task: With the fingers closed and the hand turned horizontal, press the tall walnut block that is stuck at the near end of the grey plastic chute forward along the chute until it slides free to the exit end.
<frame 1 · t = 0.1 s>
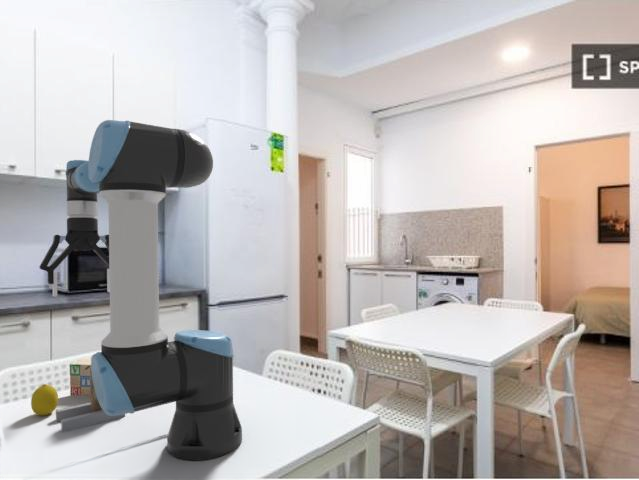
hand: (83, 294, 121), 28 cm above the table, tool pointing down, fingers open, 13 cm apart
chute: (90, 421, 103), on the table
lemon: (45, 417, 106), on the table
block: (106, 391, 105), point 6 cm above the table, slide at 0.0 cm
stack of blocks: (113, 395, 121), on the table
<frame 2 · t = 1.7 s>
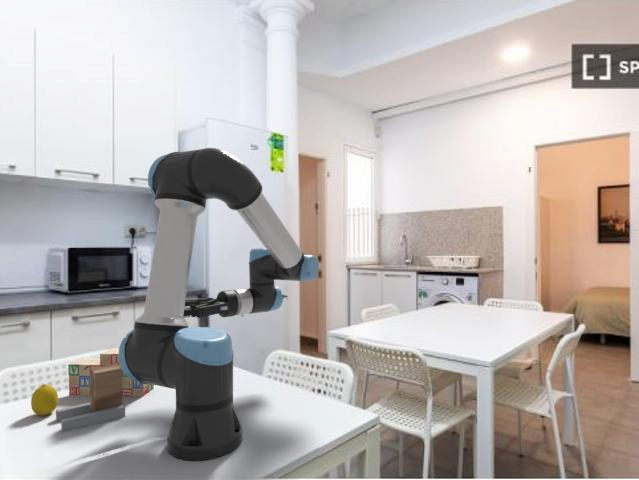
hand: (156, 311, 113), 24 cm above the table, tool horizontal, fingers open, 10 cm apart
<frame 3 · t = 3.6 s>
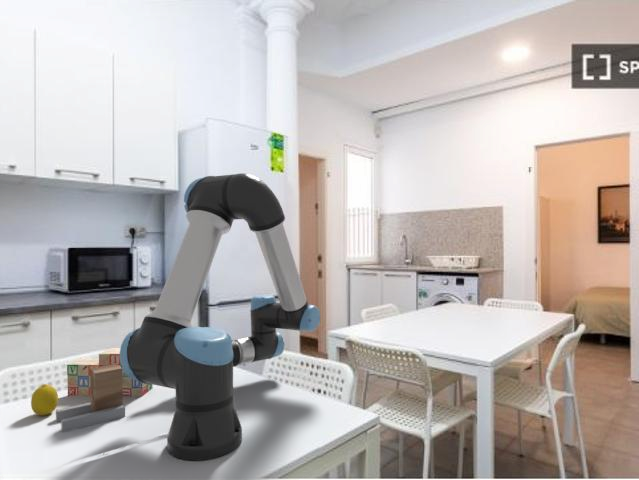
hand: (153, 369, 113), 9 cm above the table, tool horizontal, fingers closed
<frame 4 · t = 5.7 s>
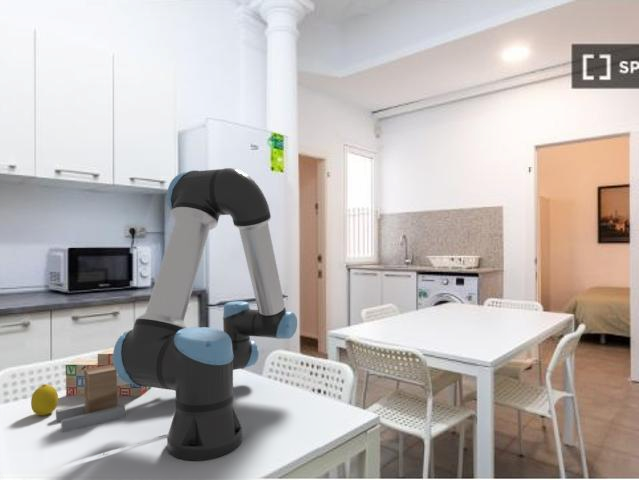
hand: (114, 380, 107), 8 cm above the table, tool horizontal, fingers closed
block: (100, 392, 105), point 6 cm above the table, slide at 1.3 cm, touching gripper
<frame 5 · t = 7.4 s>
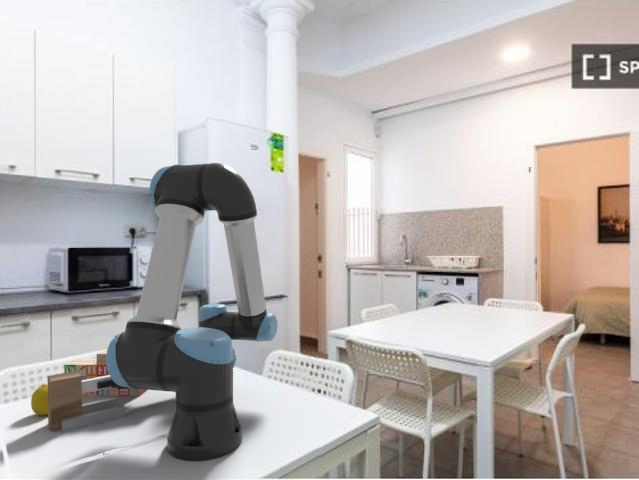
hand: (80, 387, 102), 8 cm above the table, tool horizontal, fingers closed
block: (64, 400, 100), point 6 cm above the table, slide at 8.8 cm, touching gripper
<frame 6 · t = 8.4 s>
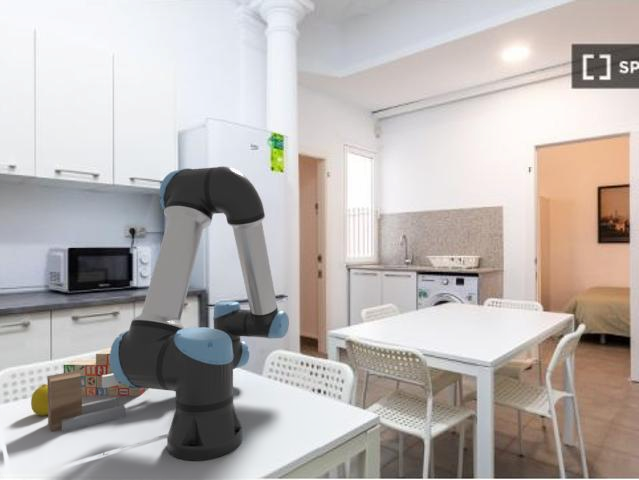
hand: (102, 381, 105), 9 cm above the table, tool horizontal, fingers closed
block: (64, 400, 100), point 6 cm above the table, slide at 8.8 cm
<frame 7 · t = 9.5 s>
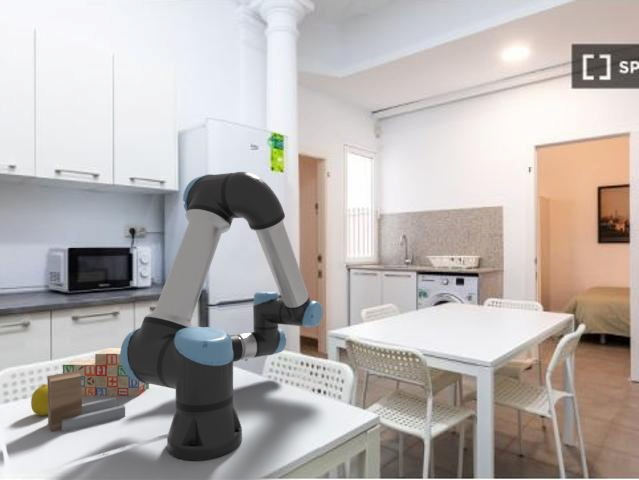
hand: (155, 361, 113), 11 cm above the table, tool horizontal, fingers closed
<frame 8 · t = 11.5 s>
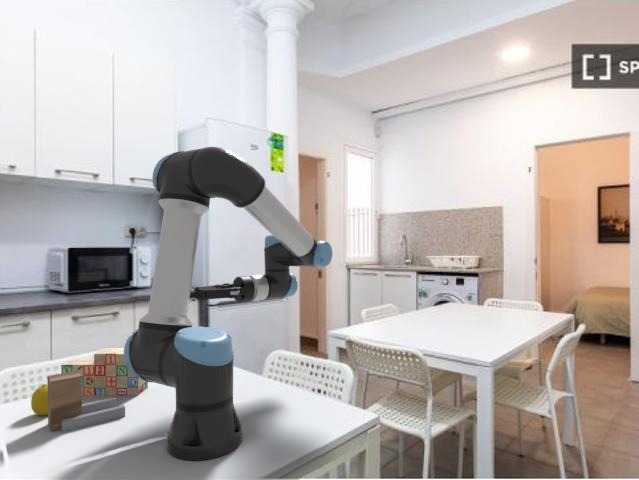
hand: (169, 296, 113), 28 cm above the table, tool horizontal, fingers closed
at the end: block slide at 8.8 cm; block inside the target area (0.7 cm from its centre), point 6.3 cm above the table; the gripper is holding nothing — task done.
